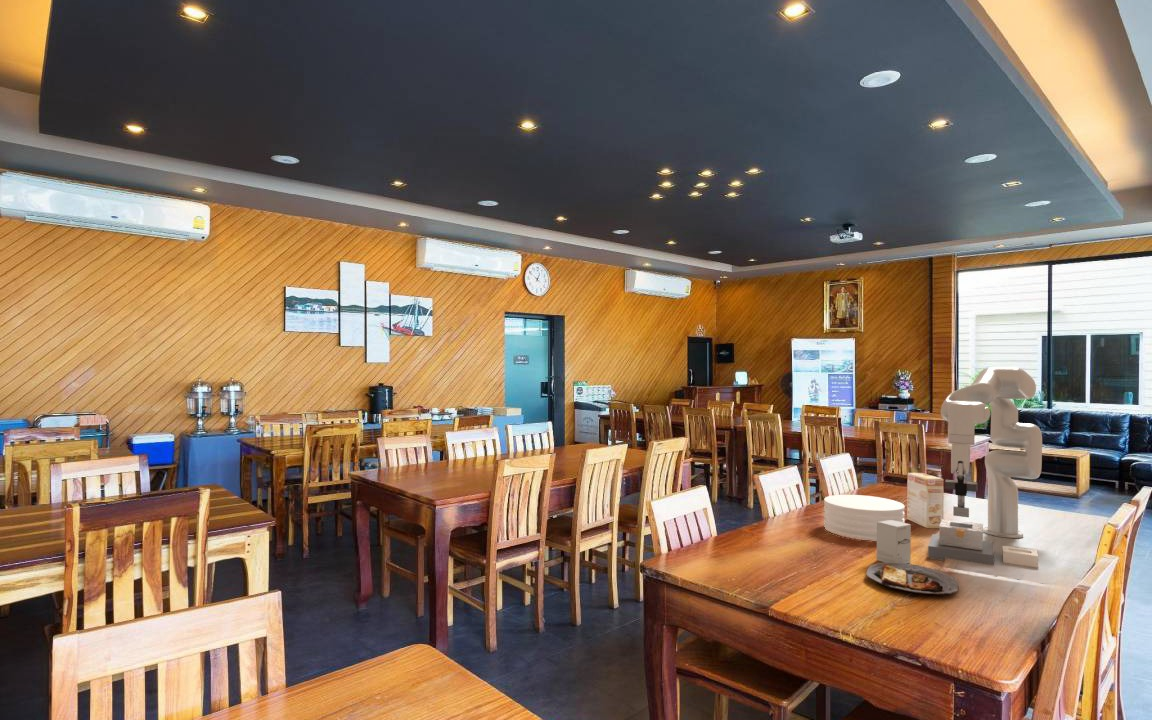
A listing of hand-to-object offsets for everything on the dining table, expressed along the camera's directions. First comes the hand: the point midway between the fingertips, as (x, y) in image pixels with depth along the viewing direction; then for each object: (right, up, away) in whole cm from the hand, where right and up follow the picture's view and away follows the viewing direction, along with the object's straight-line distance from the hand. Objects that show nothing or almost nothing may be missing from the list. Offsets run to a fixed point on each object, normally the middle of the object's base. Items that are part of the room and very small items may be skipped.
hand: (961, 493), depth 209 cm
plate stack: (-19, -22, +31) cm, 42 cm away
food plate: (-31, -21, -27) cm, 47 cm away
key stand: (+13, -21, -9) cm, 26 cm away
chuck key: (0, -8, 0) cm, 8 cm away
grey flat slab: (0, -21, 0) cm, 21 cm away
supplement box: (-26, -21, -7) cm, 34 cm away
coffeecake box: (+12, -22, +43) cm, 50 cm away
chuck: (-1, -17, -1) cm, 17 cm away
